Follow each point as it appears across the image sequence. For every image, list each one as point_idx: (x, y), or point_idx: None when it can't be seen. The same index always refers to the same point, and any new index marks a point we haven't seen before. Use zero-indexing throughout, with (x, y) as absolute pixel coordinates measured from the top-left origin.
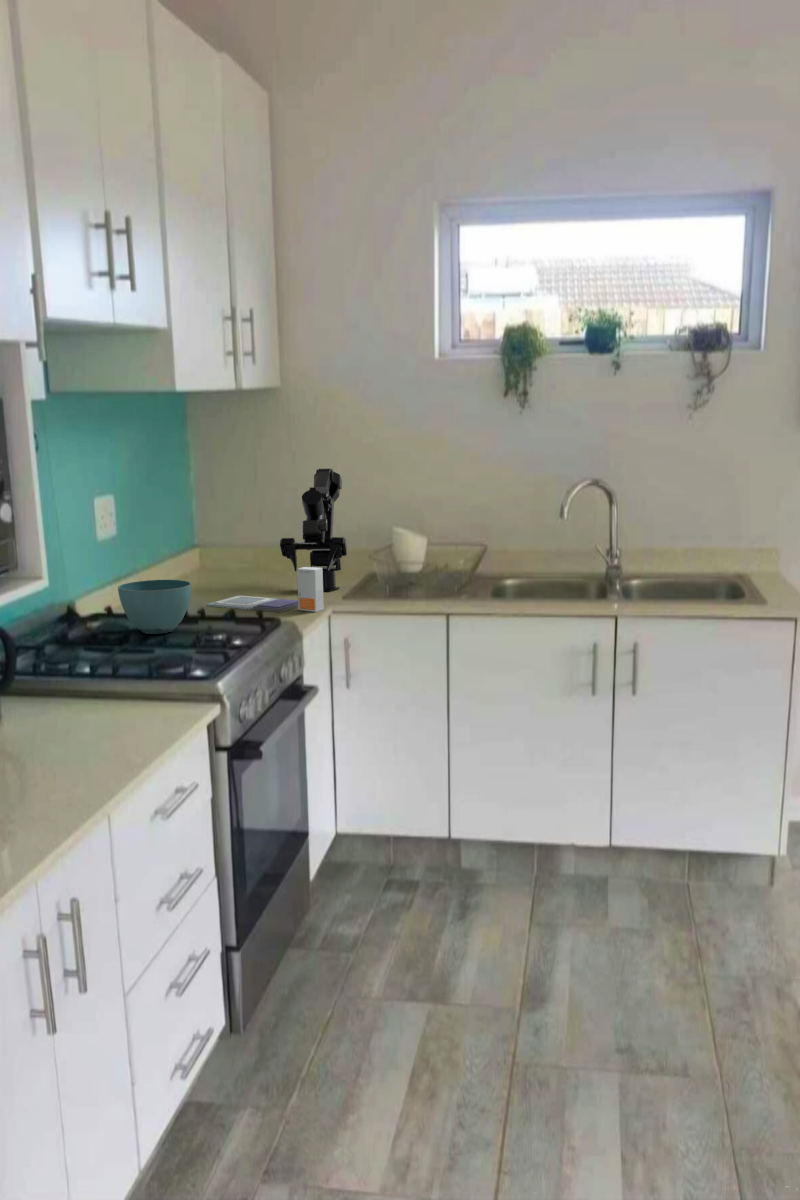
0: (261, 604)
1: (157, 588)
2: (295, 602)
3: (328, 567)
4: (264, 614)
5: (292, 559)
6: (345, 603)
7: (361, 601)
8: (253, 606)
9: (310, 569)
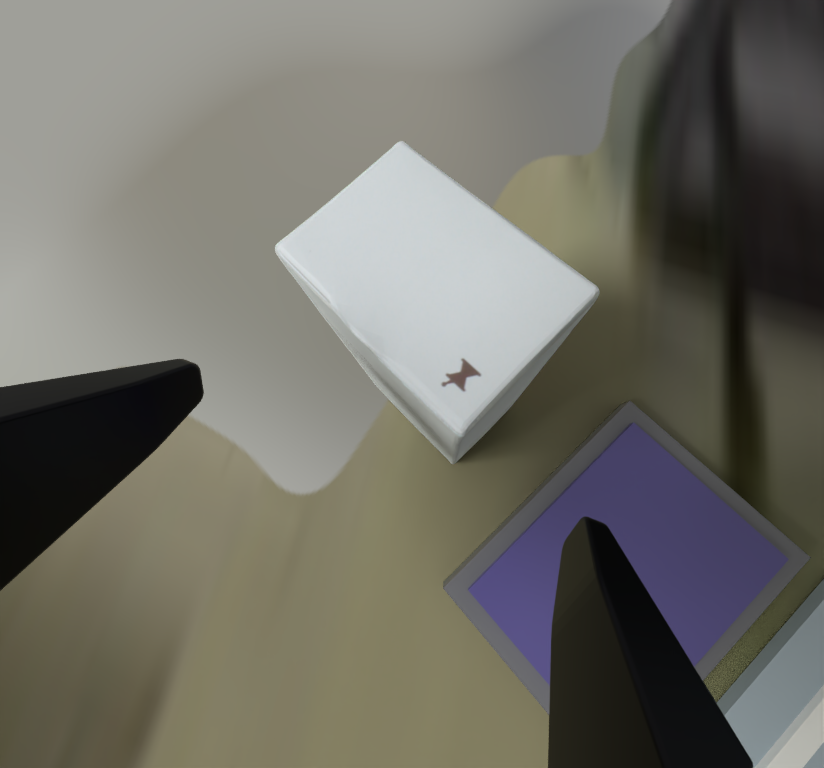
0: (755, 565)
1: None
2: (508, 549)
3: (168, 360)
4: (713, 378)
5: (728, 736)
6: (212, 516)
7: (115, 538)
8: (803, 618)
9: (441, 175)
